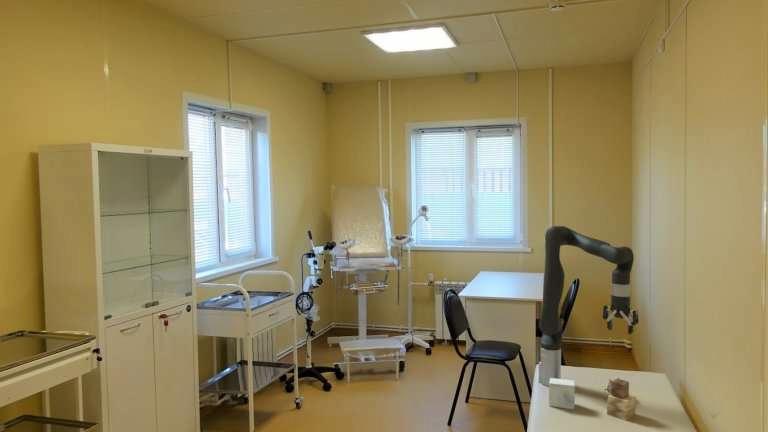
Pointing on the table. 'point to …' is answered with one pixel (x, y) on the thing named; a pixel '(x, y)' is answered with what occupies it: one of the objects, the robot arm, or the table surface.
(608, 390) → the game die
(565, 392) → the skincare box
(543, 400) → the table surface
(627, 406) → the tower top
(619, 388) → the block
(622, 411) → the tower base
